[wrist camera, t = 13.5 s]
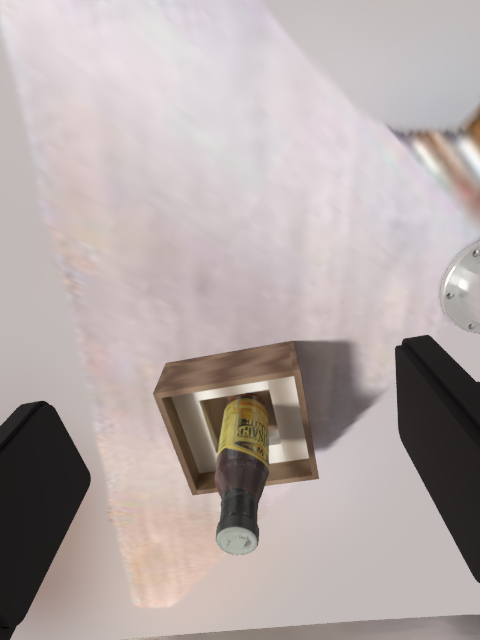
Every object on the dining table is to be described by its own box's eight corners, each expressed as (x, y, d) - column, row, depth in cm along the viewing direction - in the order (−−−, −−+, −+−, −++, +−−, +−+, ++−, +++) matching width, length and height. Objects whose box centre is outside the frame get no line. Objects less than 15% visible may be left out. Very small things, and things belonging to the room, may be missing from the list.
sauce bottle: (276, 407, 51) (290, 545, 33) (246, 431, 53) (244, 574, 35) (243, 381, 49) (238, 512, 31) (213, 407, 51) (193, 544, 33)
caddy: (293, 340, 47) (299, 369, 41) (311, 441, 54) (318, 478, 48) (165, 363, 49) (153, 393, 43) (199, 457, 56) (192, 495, 50)
